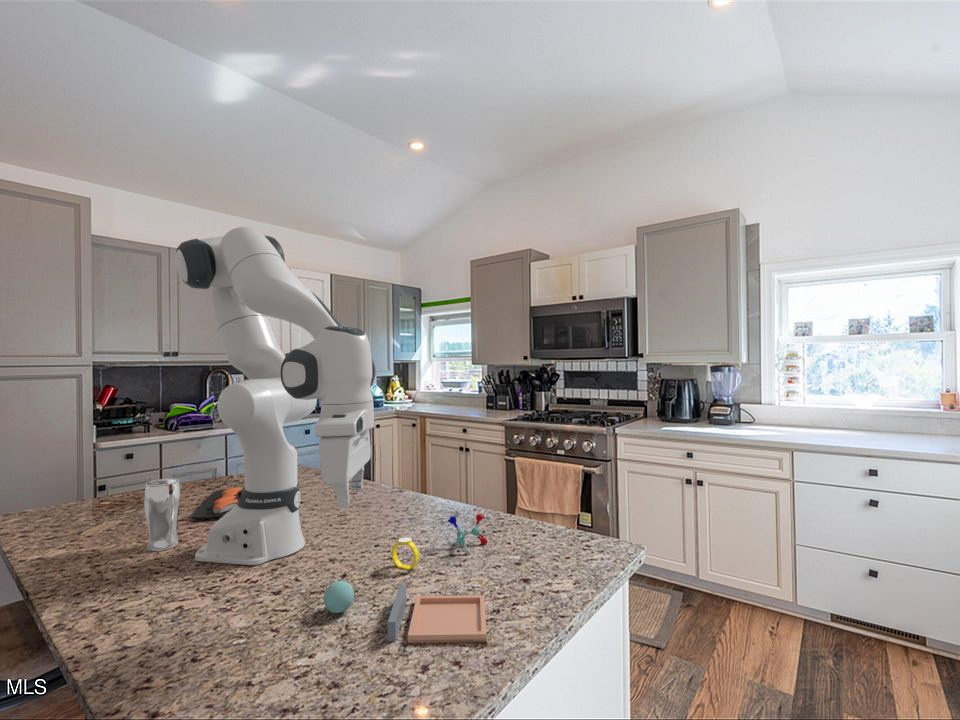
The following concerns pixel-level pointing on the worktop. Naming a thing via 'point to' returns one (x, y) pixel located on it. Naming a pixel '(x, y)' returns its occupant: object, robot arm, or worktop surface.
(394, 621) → the block
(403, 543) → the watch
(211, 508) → the sushi plate
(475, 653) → the worktop surface
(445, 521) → the molecular model
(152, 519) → the beer glass
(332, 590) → the ball
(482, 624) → the dish
